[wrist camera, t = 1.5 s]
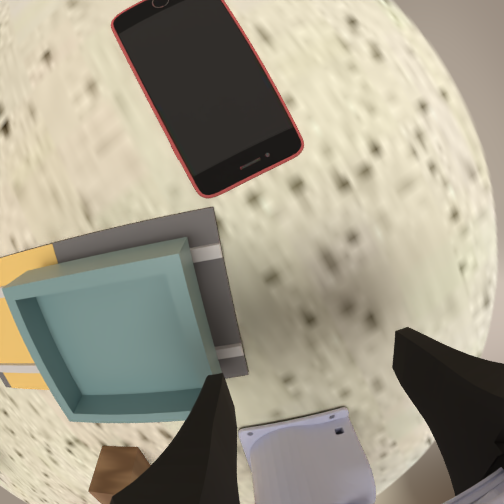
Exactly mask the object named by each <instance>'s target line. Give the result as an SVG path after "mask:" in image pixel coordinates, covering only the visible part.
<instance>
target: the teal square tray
mask: <svg viewBox="0 0 504 504" xmlns="http://www.w3.org/2000/svg"><path fill="white" fill-rule="evenodd" d="M2 291H3V294H4V297H5V299H6V302H7V304H8V307H9V309H10V312H11V314H12V316H13V319H14V321H15V323H16V326H17V328H18V330H19V332H20V335H21V337H22V339H23V341H24V343H25V345H26V347H27V349H28V351H29V353H30V355H31V357H32V359H33V361H34V363H35V365H36V367H37V368H38V370H39V372H40V374H41V376H42V377H43V379H44V381H45V383H46V384H47V386H48V388H49V389H50V391H51V393H52V394H53V396H54V398H55V399H56V401H57V402H58V404H59V406H60V407H61V409H62V410H63V412H64V413H65V415H66V416H67V418H68V419H69V421H73V422H93V423H148V422H168V421H183V420H186V419H187V417H188V415H189V413H190V412H191V410H192V408H193V406H194V404H195V402H196V400H197V398H198V396H199V393H200V391H201V389H202V387H203V384H204V382H205V379H206V377H207V376H208V375H213V374H219V373H222V371H221V368H220V364H219V361H218V357H217V354H216V350H215V346H214V343H213V339H212V336H211V332H210V328H209V324H208V321H207V317H206V313H205V309H204V305H203V301H202V297H201V293H200V289H199V285H198V281H197V277H196V273H195V269H194V265H193V260H192V256H191V252H190V247H189V243H188V239H187V237H183V238H178V239H173V240H168V241H163V242H158V243H153V244H148V245H143V246H138V247H133V248H128V249H123V250H119V251H114V252H109V253H104V254H100V255H95V256H91V257H86V258H81V259H77V260H72V261H68V262H63V263H59V264H54V265H50V266H46V267H41V268H37V269H33V270H28V271H26V272H25V273H23V274H22V275H20V276H19V277H17V278H16V279H15V280H13V281H12V282H10V283H9V284H7V285H6V286H5V287H3V288H2Z"/></svg>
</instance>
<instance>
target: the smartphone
mask: <svg viewBox="0 0 504 504" xmlns="http://www.w3.org/2000/svg"><path fill="white" fill-rule="evenodd" d="M111 28H112V31H113V33H114V35H115V37H116V39H117V41H118V43H119V45H120V47H121V49H122V51H123V53H124V55H125V57H126V59H127V61H128V63H129V65H130V67H131V69H132V71H133V73H134V75H135V77H136V79H137V81H138V83H139V84H140V86H141V88H142V90H143V92H144V94H145V96H146V98H147V100H148V102H149V104H150V106H151V108H152V110H153V112H154V113H155V115H156V117H157V119H158V121H159V123H160V125H161V127H162V129H163V131H164V132H165V134H166V136H167V138H168V140H169V142H170V144H171V147H172V149H173V151H174V153H175V155H176V157H177V159H178V160H179V161H180V163H181V164H182V166H183V168H184V170H185V172H186V174H187V176H188V178H189V179H190V181H191V183H192V185H193V187H194V188H195V190H196V192H197V193H198V194H199V195H200V196H202V197H204V198H213V197H216V196H218V195H221V194H223V193H225V192H227V191H229V190H231V189H233V188H235V187H237V186H239V185H241V184H243V183H245V182H247V181H249V180H251V179H253V178H255V177H257V176H259V175H261V174H263V173H265V172H267V171H269V170H271V169H273V168H275V167H277V166H279V165H281V164H283V163H285V162H287V161H289V160H291V159H293V158H295V157H296V156H298V155H299V154H300V153H301V152H302V150H303V148H304V142H303V139H302V136H301V134H300V132H299V130H298V128H297V126H296V124H295V122H294V120H293V118H292V116H291V114H290V112H289V110H288V109H287V107H286V105H285V103H284V101H283V99H282V97H281V95H280V93H279V92H278V90H277V88H276V86H275V84H274V82H273V81H272V79H271V77H270V75H269V73H268V72H267V70H266V68H265V66H264V65H263V63H262V61H261V59H260V58H259V56H258V54H257V53H256V51H255V49H254V48H253V46H252V44H251V43H250V41H249V39H248V38H247V36H246V34H245V33H244V31H243V29H242V28H241V26H240V25H239V23H238V21H237V20H236V18H235V17H234V15H233V14H232V12H231V11H230V9H229V7H228V6H227V4H226V3H225V1H224V0H142V1H140V2H138V3H136V4H135V5H133V6H131V7H129V8H127V9H126V10H124V11H122V12H121V13H119V14H118V15H117V16H116V17H115V18H114V19H113V20H112V23H111Z"/></svg>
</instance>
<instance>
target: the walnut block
mask: <svg viewBox="0 0 504 504" xmlns="http://www.w3.org/2000/svg"><path fill="white" fill-rule="evenodd" d="M150 466H151V465H150V464H149V463H148V461H147V460H146V458H145V457H144V455H143V454H142V453H141V451H140V450H139V448H138V447H118V446H102V449H101V452H100V455H99V458H98V462H97V465H96V468H95V471H94V474H93V477H92V481H91V484H90V487H89V492H90V493H91V494H92V495H93V496H94V497H95V498H96V499H97V500H98V501H99V502H100V503H101V504H110V501H111V498H112V496H113V495H115V494H116V493H118V492H119V491H121V490H122V489H124V488H125V487H126V486H128V485H129V484H131V483H132V482H133V481H134V480H136V479H137V478H138V477H139V476H140V475H141V474H142V473H143V472H145V471H146V470H147V469H148V468H149V467H150Z"/></svg>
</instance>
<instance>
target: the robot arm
mask: <svg viewBox="0 0 504 504" xmlns="http://www.w3.org/2000/svg"><path fill="white" fill-rule="evenodd" d="M392 368H393V370H394V372H395V374H396V376H397V378H398V380H399V382H400V384H401V386H402V387H403V389H404V390H405V392H406V393H407V395H408V396H409V398H410V399H411V401H412V402H413V404H414V405H415V406H416V408H417V409H418V411H419V412H420V414H421V415H422V417H423V418H424V420H425V421H426V423H427V424H428V426H429V428H430V430H431V432H432V434H433V436H434V438H435V440H436V442H437V445H438V447H439V449H440V451H441V454H442V456H443V458H444V461H445V464H446V466H447V469H448V472H449V475H450V478H451V481H452V485H453V488H454V492H455V497H454V498H452V499H450V500H449V501H447V502H445V503H443V504H504V364H502V363H497V362H492V361H488V360H484V359H481V358H478V357H474V356H471V355H468V354H466V353H463V352H461V351H458V350H456V349H453V348H451V347H449V346H447V345H444V344H442V343H440V342H438V341H436V340H434V339H432V338H430V337H428V336H426V335H424V334H422V333H420V332H418V331H415V330H413V329H411V328H409V327H406V328H403V329H400V330H397V331H395V344H394V356H393V366H392ZM348 414H349V412H348V409H347V408H346V407H343V408H339V409H335V410H331V411H327V412H323V413H319V414H315V415H311V416H307V417H302V418H298V419H293V420H288V421H283V422H278V423H273V424H267V425H261V426H255V427H249V428H243V429H240V430H239V431H238V435H239V438H240V441H241V444H242V447H243V450H244V453H245V456H246V458H247V461H248V464H249V467H250V469H251V472H252V479H253V488H254V497H255V504H374V503H375V499H376V487H375V481H374V477H373V473H372V470H371V467H370V464H369V462H368V459H367V457H366V455H365V453H364V450H363V448H362V446H361V444H360V441H359V439H358V437H357V435H356V432H355V430H354V428H353V426H352V423H351V421H350V419H349V417H348ZM331 415H332V416H331ZM110 504H240V502H239V494H238V485H237V424H236V416H235V408H234V404H233V401H232V398H231V395H230V392H229V389H228V386H227V383H226V380H225V377H224V374H223V373H219V374H213V375H208V376H207V377H206V379H205V382H204V384H203V387H202V389H201V391H200V393H199V396H198V398H197V400H196V402H195V404H194V406H193V408H192V410H191V412H190V413H189V415H188V417H187V419H186V420H185V422H184V424H183V425H182V427H181V429H180V430H179V432H178V433H177V435H176V436H175V438H174V439H173V440H172V442H171V443H170V444H169V446H168V447H167V448H166V449H165V451H164V452H163V453H162V454H161V455H160V456H159V457H158V459H157V460H156V461H155V462H154V463H153V464H152V465H151V466H150V467H149V468H148V469H147V470H146V471H145V472H143V473H142V474H141V475H140V476H139V477H138V478H137V479H136V480H134V481H133V482H132V483H131V484H129V485H128V486H126V487H125V488H124V489H122V490H121V491H119V492H118V493H116V494H115V495H113V496H112V498H111V501H110Z"/></svg>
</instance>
